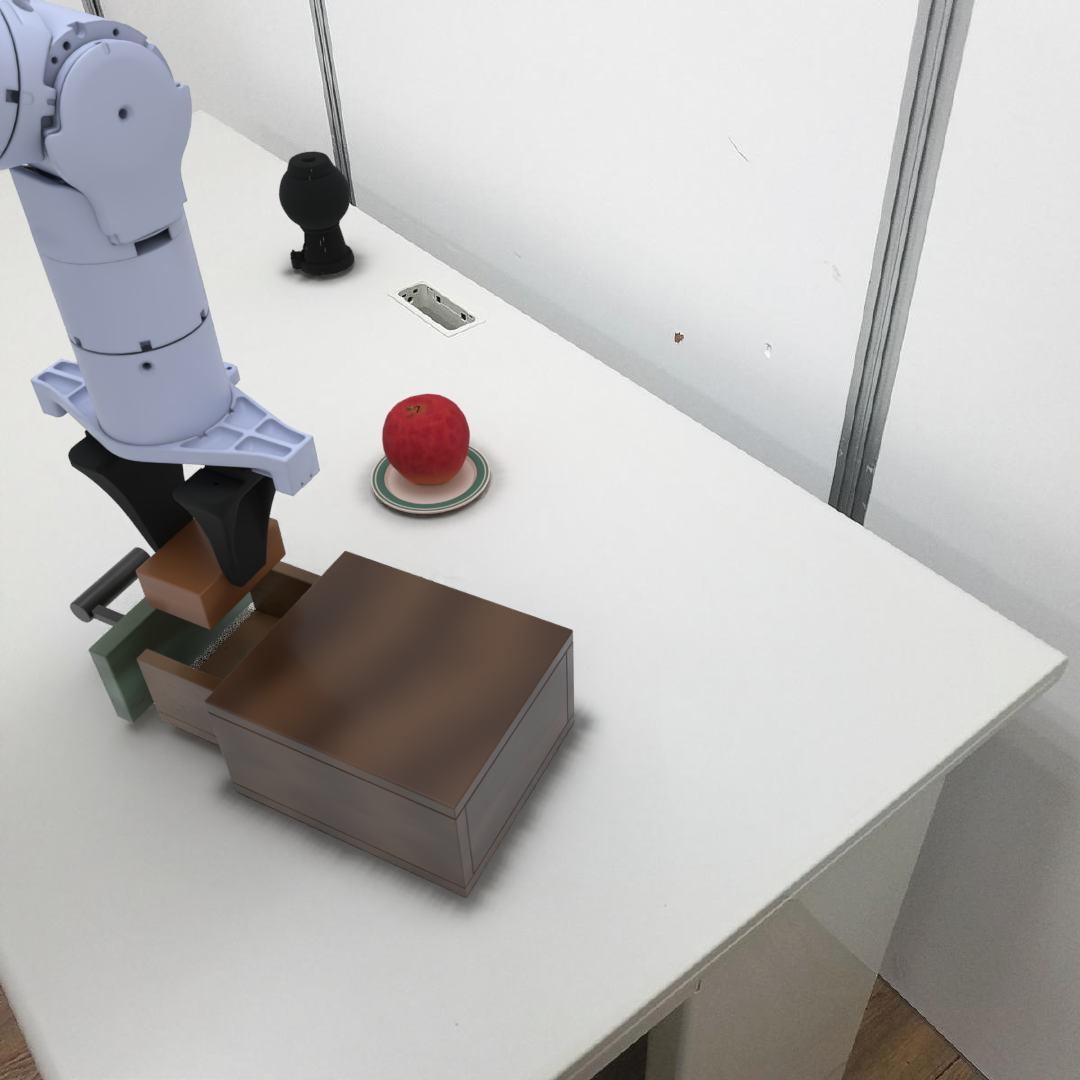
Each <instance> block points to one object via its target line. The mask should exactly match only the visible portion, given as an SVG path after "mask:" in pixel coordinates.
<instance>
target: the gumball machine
mask: <svg viewBox="0 0 1080 1080" xmlns="http://www.w3.org/2000/svg"><path fill="white" fill-rule="evenodd" d="M303 149H304V150H306V149H305V147H303ZM278 199H279V203H280V206H281V209H282V210H283V211H284V213H285V215H286V217H288V218H289V219H290V221H291V222H293V223H294V224H296V225H298V226H299V228H300V229H301V231H302V232H303V244H302V249H301V250H297V251H296V250H295V249H291V251H290V253H289V255H290V262H291V263H290V264H291V268H292V269H294V270H296V271H302V272H303V273H305V274H308V275H311V276H317V277H318V276H321V277H323V278H324V277H325V276H331V275H336V274H340V273H342V272H345V271H347V270H348V269H349V268H351V267H352V266H353V264H354V263H355V254H354V251H353V250H352V247H350V246H349V245H347V244H346V240H345V237H344V235H343V231H342V229H341V226H340V223H341V220H342V219H343V218H344V216H345V215H346V214H347V212H348V210H349V207H350V203H351V202H350V200H351V189H350V184H349V182H348V180H347V177H346V176H345V175H344V174H343V172H342V171H341V170H340V169H339V168H338V166H336V165H334V163H333V162H332V160H331V158H330V157H329V156H328V155H327V153H324V152H320V151H313V150H312V151H303V152H300V153H297V154H295V155H293V156H291V157H290V159H289V160H288V163H287V168H286V171H284V173H283V174H282V177H281V179H280V182H279V188H278Z"/></svg>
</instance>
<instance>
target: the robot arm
mask: <svg viewBox="0 0 1080 1080" xmlns="http://www.w3.org/2000/svg"><path fill="white" fill-rule="evenodd" d="M147 40H148V37H147V35H145V34H144V33H142V31H140V30H138V29H136V28H134V27H133V26H130V25H129V24H127V23H126V24H125V23H122V22H120V21H116V20H113V19H109V18H105V17H103V16H98V15H94V14H91V13H87V12H84V11H81V10H77V9H74V8H70V7H67V6H63V5H60V4H57V3H52V2H49V1H46V0H0V171H4V170H8V171H9V173H10V176H11V179H12V181H13V185H14V188H15V190H16V194H17V196H18V198H19V201H20V204H21V207H22V210H23V213H24V216H25V218H26V221H27V224H28V227H29V230H30V234H31V236H32V239H33V242H34V244H35V248H36V251H37V253H38V256H39V258H40V262H41V265H42V268H43V269H44V272H45V275H46V279H47V281H48V284H49V286H50V289H51V292H52V295H53V297H54V300H55V303H56V306H57V309H58V311H59V314H60V317H61V320H62V323H63V326H64V328H65V331H66V334H67V338H68V340H69V343H70V346H71V349H72V351H73V354H74V356H75V360H76V361H73V360H68V359H65V358H60V359H58V360H57V361H55V362H54V363H52V364H51V365H49V366H47V367H46V368H45V369H44V370H42V371H40V372H39V373H38V374H36V375H35V376H33V377H32V378H31V379H30V383H31V385H32V388H33V391H34V393H35V395H36V398H37V400H38V403H39V405H40V408H41V411H42V413H43V414H45V415H48V416H50V417H51V416H52V417H54V418H62V417H64V416H66V415H67V414H68V415H70V416H71V417H72V419H74V421H76V422H77V423H78V424H79V425H80V426H81V427H82V428H84V429H85V430H84V434H85V436H84V437H83V438H82V439H80V440H79V441H78V442H77V443H75V444H74V445H73V446H72V447H71V448H70V450H69V451H68V455H67V457H68V460H69V463H70V465H71V467H73V468H74V469H75V470H77V471H78V472H80V473H81V474H83V475H84V476H86V477H87V478H88V479H89V480H90V481H92V482H94V483H95V484H96V485H97V486H98V487H99V488H100V489H101V490H103V491H104V493H106V494H107V495H108V496H109V497H110V498H111V499H112V500H113V501H114V502H115V504H117V506H119V508H120V509H121V510H122V512H123V513H124V514H125V515H126V516H127V518H128V519H129V520H130V522H131V523H132V524H133V525H134V527H135V528H136V529H137V531H138V532H139V533H140V535H141V536H142V537H143V539H144V540H145V542H146V543H147V544H148V545H149V547H150V548H151V549H152V551H153V552H154V553H156V552H157V551H158V550H159V549H160V548H161V547H163V546H164V545H165V544H166V543H167V542H168V541H169V540H170V539H172V538H173V537H174V536H175V535H176V534H177V533H178V532H179V531H180V530H182V529H183V528H184V527H185V526H186V525H187V524H188V523H189V522H191V521H192V520H193V519H194V518H195V520H196V521H197V522H198V524H199V525H200V526H201V528H202V529H203V531H204V533H205V534H206V536H207V538H208V539H209V541H210V543H211V546H212V548H213V551H214V553H215V556H216V558H217V561H218V563H219V566H220V568H221V570H222V572H223V573H224V575H225V576H226V578H227V579H228V580H229V582H230V583H231V584H233V585H235V586H238V587H244V586H245V585H246V584H247V583H248V582H249V581H250V580H251V579H252V578H253V577H254V576H255V575H256V574H257V573H258V572H259V571H260V570H261V569H262V568H263V567H264V566H265V565H266V556H267V537H268V526H269V518H271V512H272V507H273V503H274V498H275V494H276V491H277V492H278V493H281V494H285V495H288V496H290V497H295V495H297V494H298V493H299V491H301V490H302V489H303V488H305V486H307V485H308V484H309V483H310V482H311V481H313V478H314V477H315V476H316V475H318V473H320V471H321V469H320V468H321V467H320V463H319V459H318V454H317V453H318V452H317V448H316V444H315V439H314V436H313V435H311V434H309V433H306V432H304V431H303V432H302V431H300V430H297V429H296V428H294V427H292V426H290V425H288V424H287V423H285V422H284V421H282V420H281V419H280V418H278V417H277V416H275V415H274V414H273V413H272V412H270V411H269V410H268V409H266V408H265V407H263V406H262V405H261V404H260V403H258V402H257V401H256V400H255V399H253V398H252V397H250V396H249V395H248V394H246V393H245V392H243V391H242V390H241V389H240V388H239V387H237V386H236V385H237V384H238V383H239V382H240V381H241V375H240V372H239V369H238V365H235V364H233V363H230V362H226V361H224V360H223V356H222V352H221V348H220V344H219V340H218V336H217V332H216V328H215V324H214V321H213V317H212V313H211V308H210V305H209V300H208V297H207V292H206V289H205V284H204V280H203V277H202V273H201V268H200V265H199V261H198V257H197V254H196V250H195V246H194V242H193V238H192V235H191V229H190V226H189V222H188V218H187V214H186V211H185V206H184V204H185V203H187V202H188V197H187V192H186V189H185V185H184V182H183V177H182V161H183V157H184V153H185V150H186V147H187V145H188V141H189V138H190V134H191V128H192V122H193V121H192V120H193V119H192V118H193V105H192V104H193V103H192V95H191V89H190V86H189V85H188V84H185V83H183V84H181V82H180V81H179V80H175V79H174V76H173V72H172V70H171V68H170V66H169V64H168V61H167V60H166V58H165V57H164V55H163V54H162V51H160V49H159V48H158V47H157V45H156V44H153V43H149V42H148V41H147ZM184 465H197V466H204V467H200V468H198V469H197V470H196V471H195V472H194V473H193V474H192V475H190V476H189V477H188V478H187V479H186V478H185V472H184Z"/></svg>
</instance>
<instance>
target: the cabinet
mask: <svg viewBox="0 0 1080 1080" xmlns="http://www.w3.org/2000/svg"><path fill="white" fill-rule="evenodd" d="M320 576H321V577H320V578H319V579H318V580H317V581H316V582H315V583H314V584H313V585H312V586H311V587H310V588H309V590H308V591H307V592H306V593H305V594H304V595H303V596H302V597H301V598H300V599H299V600H298V601H297V602H296V603H295V605H294V606H293V607H292V608H291V609H290V610H289V611H288V612H287V613H286V614H285V615H284V616H283V617H282V618H281V619H280V621H279V622H278V623H277V624H276V625H275V626H274V627H273V628H272V629H271V630H270V631H269V632H268V633H267V634H266V635H265V637H264V638H263V639H262V640H261V641H260V642H259V643H258V644H257V645H256V646H255V647H254V648H253V649H252V650H251V652H250V653H249V654H248V655H247V656H246V657H245V658H244V659H243V660H242V661H241V662H240V663H239V664H238V665H237V666H236V668H235V669H234V670H233V671H232V672H231V673H230V674H229V675H228V676H227V677H226V678H225V679H224V680H223V681H222V682H221V684H220V685H219V686H218V687H217V688H216V689H215V690H214V691H213V692H212V693H211V694H210V695H209V696H208V697H207V699H206V700H205V701H204V702H205V705H206V708H207V711H208V714H209V717H210V720H211V723H212V725H213V728H214V731H215V734H216V737H217V739H218V742H219V745H218V746H219V748H220V750H221V751H220V752H221V754H222V756H223V759H224V762H225V765H226V767H227V770H228V773H229V776H230V778H231V781H232V784H233V787H234V790H235V792H237V793H238V794H241V795H244V796H246V797H247V798H250V799H252V800H254V801H256V802H259V803H261V804H263V805H264V806H267V807H269V808H272V809H274V810H275V811H278V812H280V813H282V814H285V815H287V816H289V817H290V818H293V819H295V820H297V821H299V822H302V823H304V824H306V825H309V826H311V827H313V828H314V829H317V830H319V831H321V832H323V833H326V834H328V835H329V836H332V837H334V838H337V839H339V840H341V841H343V842H344V843H347V844H350V845H351V846H354V847H356V848H358V849H361V850H363V851H364V852H367V853H369V854H371V855H373V856H375V857H378V858H380V859H382V860H384V861H385V862H388V863H391V864H393V865H395V866H397V867H400V868H401V869H404V870H406V871H408V872H410V873H413V874H415V875H417V876H419V877H421V878H423V879H425V880H427V881H430V882H432V883H434V884H436V885H439V886H441V887H443V888H445V889H447V890H449V891H451V892H454V893H456V894H458V895H460V896H462V897H465V898H467V897H468V896H469V894H470V892H471V891H472V890H473V888H474V886H475V884H476V883H477V881H478V879H479V878H480V876H481V875H482V873H483V871H484V869H485V868H486V866H487V865H488V863H489V861H490V860H491V859H492V857H493V855H494V853H495V851H496V850H497V848H498V847H499V845H500V843H501V842H502V841H503V839H504V837H505V836H506V833H507V832H508V830H509V829H510V827H511V825H512V824H513V822H514V820H515V819H516V818H517V816H518V814H519V812H520V811H521V810H522V807H523V806H524V804H525V803H526V801H527V800H528V798H529V796H530V795H531V793H532V791H533V790H534V788H535V786H536V785H537V783H538V782H539V780H540V778H541V777H542V775H543V773H544V772H545V770H546V768H547V767H548V765H549V764H550V762H551V760H552V759H553V757H554V756H555V754H556V752H557V751H558V749H559V747H560V745H561V744H562V743H563V741H564V739H565V737H566V736H567V734H568V733H569V731H570V729H571V728H572V726H573V724H574V723H575V668H574V667H575V664H574V663H575V660H574V659H575V657H574V655H575V653H574V630H573V629H572V628H570V627H569V628H568V627H566V626H563V625H561V624H557V623H554V622H552V621H549V620H546V619H543V618H540V617H537V616H534V615H531V614H529V613H526V612H523V611H520V610H517V609H514V608H511V607H508V606H506V605H502V604H500V603H498V602H494V601H491V600H488V599H486V598H482V597H479V596H477V595H474V594H472V593H468V592H465V591H463V590H460V589H457V588H454V587H451V586H448V585H445V584H443V583H439V582H437V581H433V580H432V579H428V578H426V577H423V576H419V575H416V574H414V573H412V572H411V573H410V572H408V571H405V570H402V569H400V568H396V567H393V566H391V565H388V564H385V563H382V562H379V561H376V560H374V559H370V558H367V557H365V556H362V555H359V554H357V553H354V552H351V551H348V550H343V552H342V553H341V554H340V555H339V556H338V557H337V558H336V560H335V561H334V562H333V563H332V564H331V565H330V566H329V567H328V568H327V569H326V570H325V571H324V573H322V574H321V575H320Z"/></svg>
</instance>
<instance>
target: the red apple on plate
mask: <svg viewBox="0 0 1080 1080" xmlns="http://www.w3.org/2000/svg"><path fill="white" fill-rule="evenodd" d="M381 434H382V435H381V442H382V449H383V452H384V455H383V456H381V457H380V458H379V459H378V461H377V462H376V463H375V465H374V466H373V468H372V471H371V474H370V484H371V488H372V490H373V493H374V494H375V496H376V497H377V498H378V499H379V500H380V501H381V502H382V503H383V504H385V505H387V506H388V507H390V508H392V509H395V510H398V511H401V512H403V513H404V512H405V513H410V514H416V515H417V514H419V515H430V514H438V513H445V512H449V511H453V510H455V509H458V508H461V507H463V506H465V505H467V504H469V503H470V502H472V501H474V499H476V498H478V496H480V494H482V493H483V491H484V490H485V489H486V487H487V485H488V483H489V481H490V478H491V477H490V475H491V467H490V464H489V461H488V459H487V457H486V456H485V455H484V454H483V453H482V452H481V451H480V450H479V449H477V448H476V447H474V446H473V445H470V439H471V432H470V426H469V423H468V420H467V417H466V415H465V414H464V412H463V410H462V409H461V408H460V406H459V405H458V404H457V403H456V402H454V401H453V400H451V398H448V397H446V396H443V395H441V394H437V393H436V394H435V393H422V394H417V395H412V396H411V395H410V396H408V397H406V398H404V399H402V400H400V401H399V402H397V403H396V404H395V405H394V406H393V407H392V408H391V410H390V411H389V412H388V413H387V414H386V417H385V419H384V423H383V426H382V433H381Z"/></svg>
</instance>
